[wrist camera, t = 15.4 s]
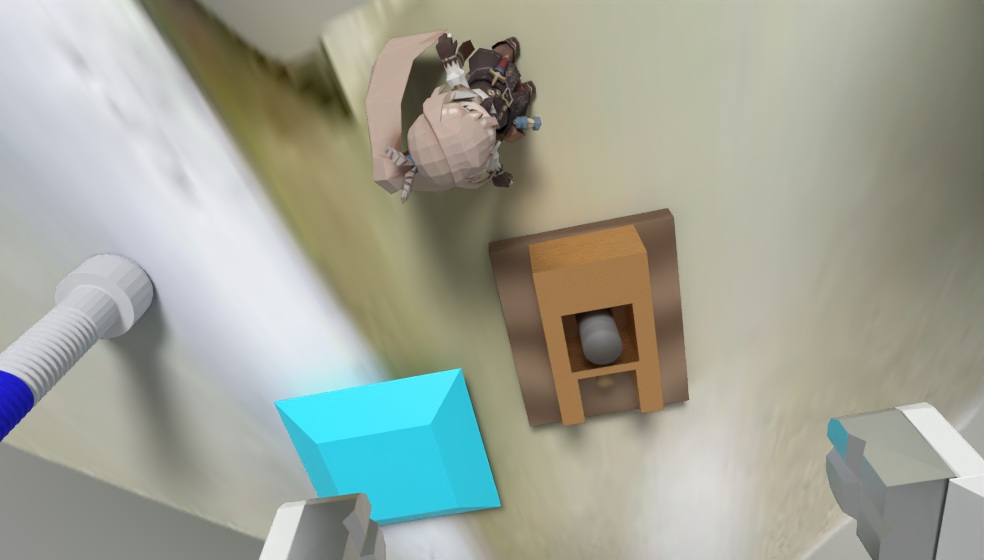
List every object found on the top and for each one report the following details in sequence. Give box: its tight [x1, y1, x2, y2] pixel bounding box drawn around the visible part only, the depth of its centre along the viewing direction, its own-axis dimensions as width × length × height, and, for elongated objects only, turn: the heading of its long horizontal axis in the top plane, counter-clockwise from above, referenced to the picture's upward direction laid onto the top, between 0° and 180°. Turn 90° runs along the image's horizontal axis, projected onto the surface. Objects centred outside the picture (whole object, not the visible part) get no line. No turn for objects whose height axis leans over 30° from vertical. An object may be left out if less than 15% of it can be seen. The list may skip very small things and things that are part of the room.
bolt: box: [0, 254, 153, 442], centre depth 38 cm, size 16×5×5 cm
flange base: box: [489, 208, 689, 426], centre depth 44 cm, size 15×12×6 cm
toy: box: [365, 30, 541, 203], centre depth 33 cm, size 9×8×15 cm
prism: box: [274, 368, 501, 525], centre depth 50 cm, size 14×14×5 cm
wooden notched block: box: [529, 225, 664, 426], centre depth 43 cm, size 12×7×4 cm, turn 12°
